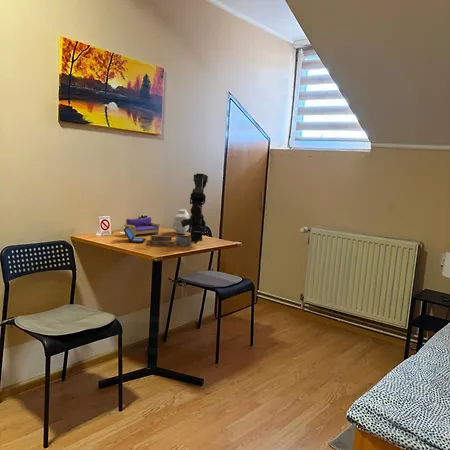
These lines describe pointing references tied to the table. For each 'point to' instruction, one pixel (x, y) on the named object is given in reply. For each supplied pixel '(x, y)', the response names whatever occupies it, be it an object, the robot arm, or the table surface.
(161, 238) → the bay
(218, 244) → the table surface
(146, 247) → the table surface
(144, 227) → the toy sofa
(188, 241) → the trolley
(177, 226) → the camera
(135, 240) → the handheld game console
